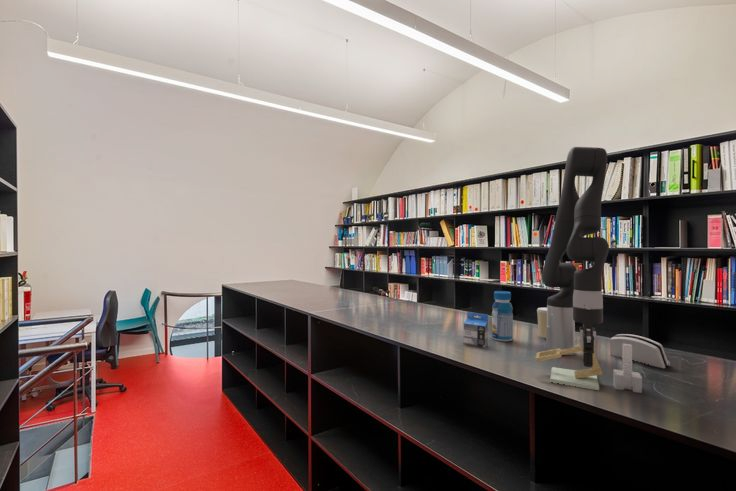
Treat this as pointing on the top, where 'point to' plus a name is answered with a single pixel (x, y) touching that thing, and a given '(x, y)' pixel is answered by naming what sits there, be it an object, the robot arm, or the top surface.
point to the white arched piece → (640, 349)
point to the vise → (627, 373)
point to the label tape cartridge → (476, 329)
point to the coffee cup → (542, 322)
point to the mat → (573, 379)
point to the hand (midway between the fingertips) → (587, 365)
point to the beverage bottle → (502, 316)
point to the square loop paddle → (578, 374)
